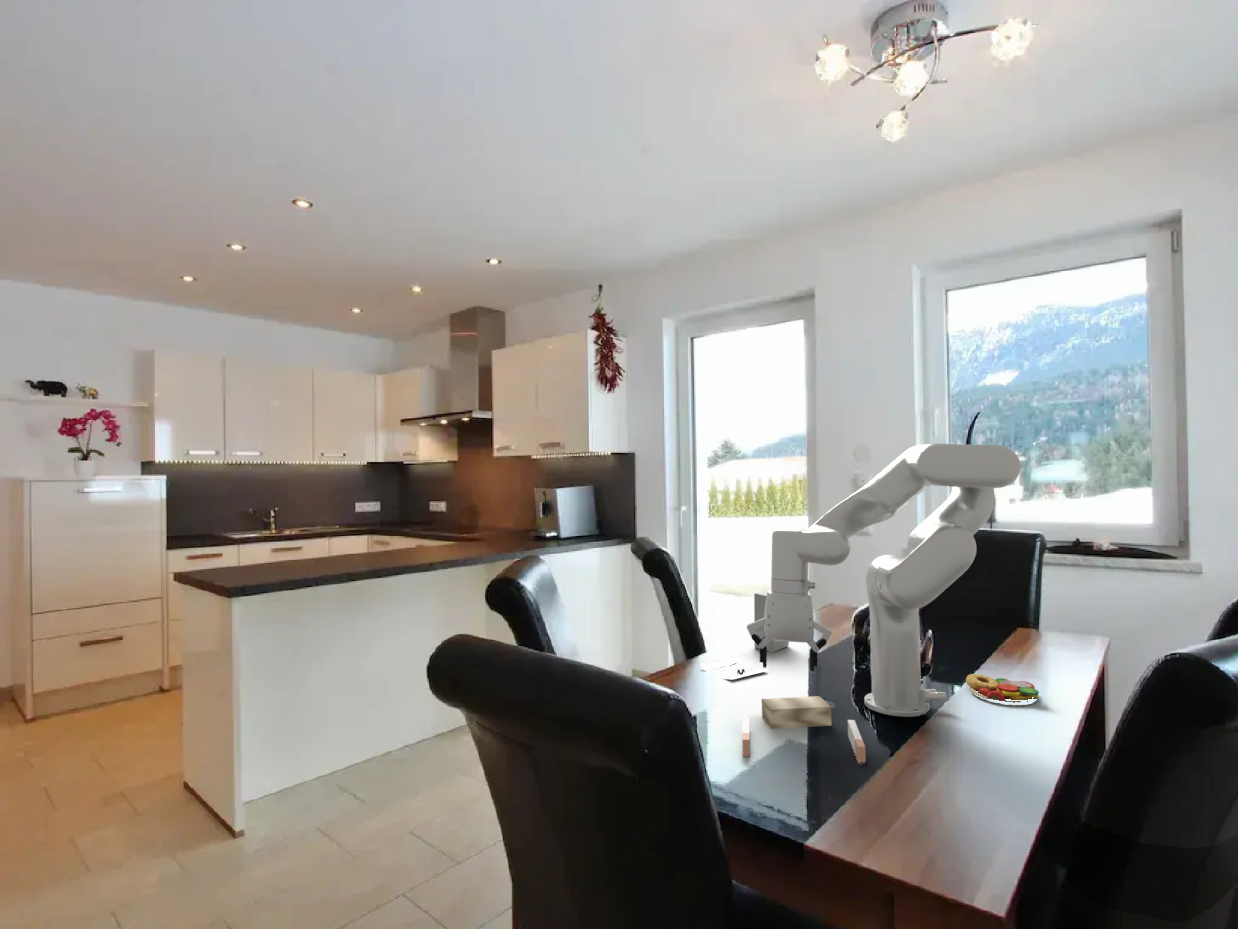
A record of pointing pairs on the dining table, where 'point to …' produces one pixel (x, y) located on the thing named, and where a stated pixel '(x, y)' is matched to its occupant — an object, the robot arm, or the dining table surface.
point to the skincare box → (759, 614)
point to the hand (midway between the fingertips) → (787, 667)
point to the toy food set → (1001, 688)
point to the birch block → (796, 712)
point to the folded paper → (728, 661)
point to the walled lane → (852, 734)
